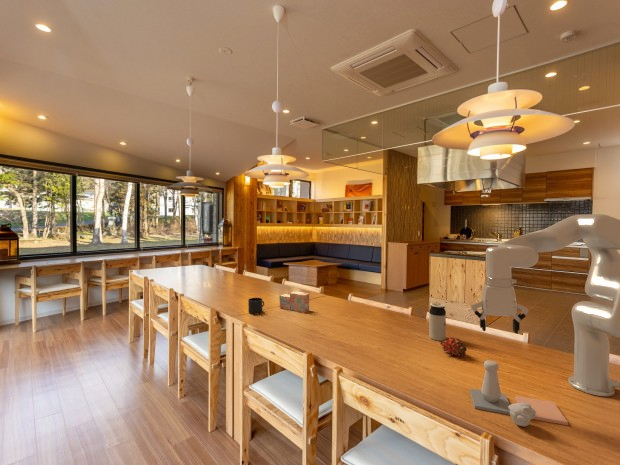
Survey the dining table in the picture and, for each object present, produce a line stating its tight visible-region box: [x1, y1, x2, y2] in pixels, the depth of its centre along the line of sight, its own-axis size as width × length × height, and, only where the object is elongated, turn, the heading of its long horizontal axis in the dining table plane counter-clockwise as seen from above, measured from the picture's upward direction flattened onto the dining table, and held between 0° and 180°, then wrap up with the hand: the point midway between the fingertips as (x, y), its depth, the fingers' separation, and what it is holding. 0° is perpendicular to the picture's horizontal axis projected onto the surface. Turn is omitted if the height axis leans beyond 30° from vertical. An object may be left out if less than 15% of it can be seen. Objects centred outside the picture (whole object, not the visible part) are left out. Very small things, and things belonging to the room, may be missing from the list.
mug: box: [247, 297, 265, 315], centre depth 212 cm, size 9×12×9 cm
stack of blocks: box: [279, 291, 310, 314], centre depth 217 cm, size 21×6×12 cm, turn 59°
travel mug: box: [428, 302, 447, 342], centre depth 161 cm, size 8×8×18 cm
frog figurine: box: [508, 402, 536, 427], centre depth 93 cm, size 6×7×7 cm
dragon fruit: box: [439, 336, 468, 357], centre depth 142 cm, size 8×8×12 cm
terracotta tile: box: [514, 395, 569, 426], centre depth 99 cm, size 11×11×1 cm
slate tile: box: [469, 388, 511, 416], centre depth 104 cm, size 11×11×1 cm
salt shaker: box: [480, 359, 502, 403], centre depth 104 cm, size 6×6×13 cm
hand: (499, 331), depth 107 cm, fingers open, 9 cm apart
